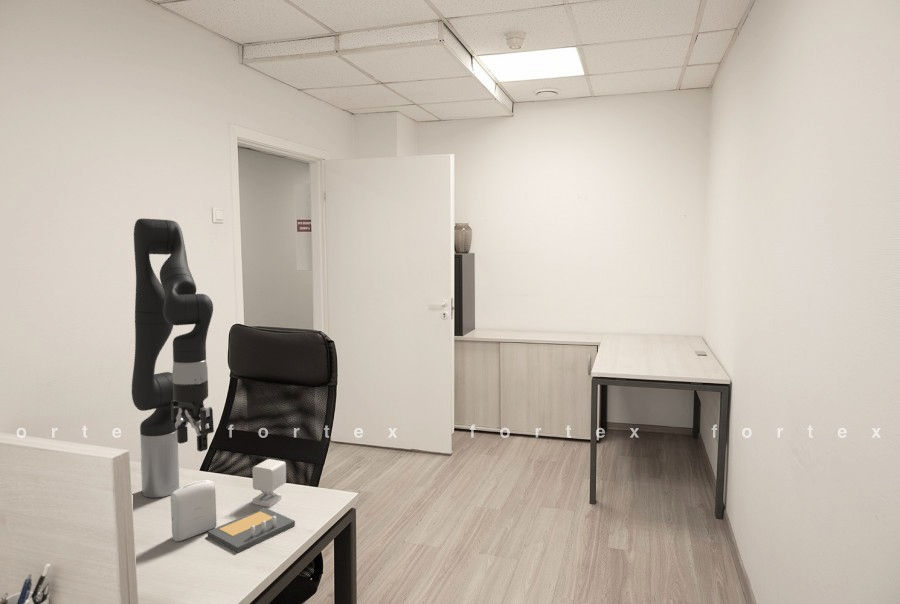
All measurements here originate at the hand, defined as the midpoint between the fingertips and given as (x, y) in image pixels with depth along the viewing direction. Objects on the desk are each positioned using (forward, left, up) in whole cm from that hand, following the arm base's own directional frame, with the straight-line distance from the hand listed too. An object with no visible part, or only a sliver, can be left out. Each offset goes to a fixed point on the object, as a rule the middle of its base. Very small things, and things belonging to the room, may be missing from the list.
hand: (192, 446), depth 137 cm
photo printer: (0, 0, -22) cm, 22 cm away
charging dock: (+10, +9, -21) cm, 25 cm away
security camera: (-1, +22, -22) cm, 31 cm away
